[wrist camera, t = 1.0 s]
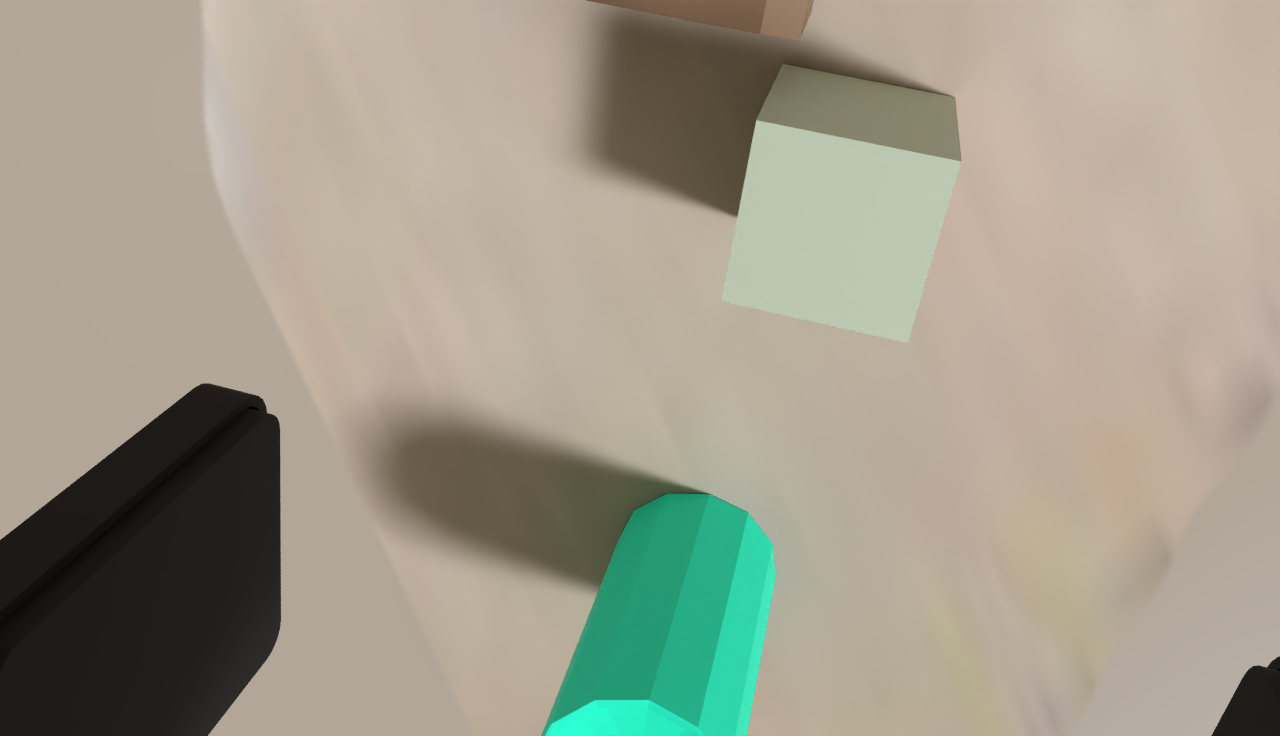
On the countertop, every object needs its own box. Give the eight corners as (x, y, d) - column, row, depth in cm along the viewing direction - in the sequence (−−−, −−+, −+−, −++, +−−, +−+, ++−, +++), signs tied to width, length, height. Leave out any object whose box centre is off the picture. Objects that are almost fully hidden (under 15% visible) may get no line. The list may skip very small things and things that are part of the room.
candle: (587, 554, 42) (480, 807, 32) (684, 462, 39) (599, 709, 29) (707, 645, 43) (640, 921, 33) (810, 562, 40) (771, 836, 30)
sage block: (782, 63, 32) (756, 120, 27) (954, 96, 32) (961, 161, 26) (750, 221, 35) (720, 301, 30) (909, 255, 34) (907, 343, 29)
